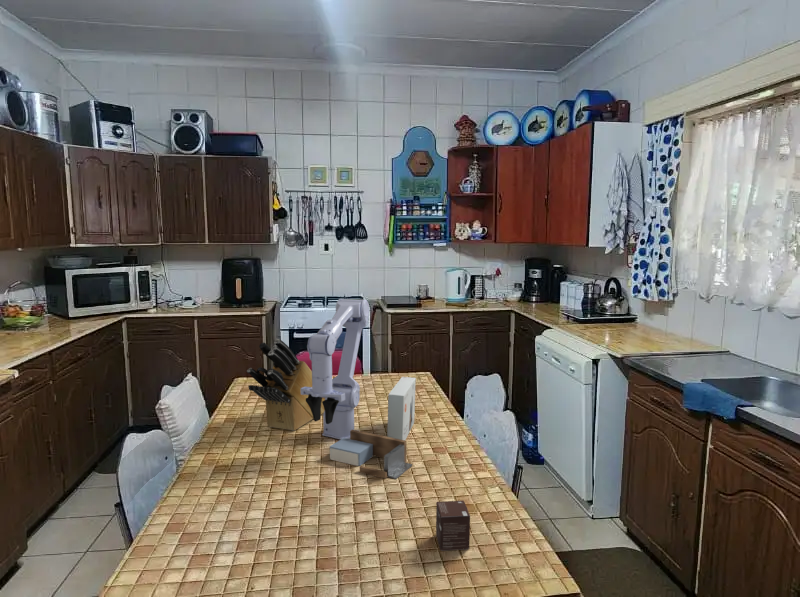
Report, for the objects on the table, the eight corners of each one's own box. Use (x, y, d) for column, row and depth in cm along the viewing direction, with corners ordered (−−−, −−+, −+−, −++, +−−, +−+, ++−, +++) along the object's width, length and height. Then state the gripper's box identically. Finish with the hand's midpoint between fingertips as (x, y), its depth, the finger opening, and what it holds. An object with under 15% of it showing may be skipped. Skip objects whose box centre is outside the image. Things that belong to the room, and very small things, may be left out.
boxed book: (329, 460, 144) (328, 446, 143) (344, 450, 150) (343, 437, 150) (359, 467, 139) (358, 453, 138) (373, 457, 145) (372, 444, 145)
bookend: (384, 476, 133) (384, 456, 132) (400, 462, 141) (400, 443, 140) (396, 479, 131) (396, 458, 131) (412, 465, 139) (412, 446, 139)
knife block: (246, 437, 160) (242, 341, 156) (309, 404, 192) (307, 323, 188) (275, 443, 155) (272, 343, 152) (335, 408, 187) (333, 325, 184)
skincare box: (404, 447, 152) (404, 395, 150) (386, 445, 153) (386, 394, 151) (416, 422, 172) (416, 376, 171) (400, 421, 173) (400, 375, 172)
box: (435, 534, 107) (435, 501, 106) (463, 532, 107) (464, 499, 106) (440, 551, 101) (440, 516, 100) (470, 550, 101) (470, 515, 100)
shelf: (329, 464, 140) (328, 443, 139) (352, 449, 150) (352, 429, 150) (385, 478, 132) (385, 456, 131) (406, 461, 142) (406, 440, 141)
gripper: (293, 375, 145) (294, 421, 147) (334, 382, 138) (335, 430, 140) (308, 370, 151) (309, 414, 153) (349, 376, 144) (349, 422, 146)
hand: (323, 421), depth 147 cm, fingers open, 4 cm apart
